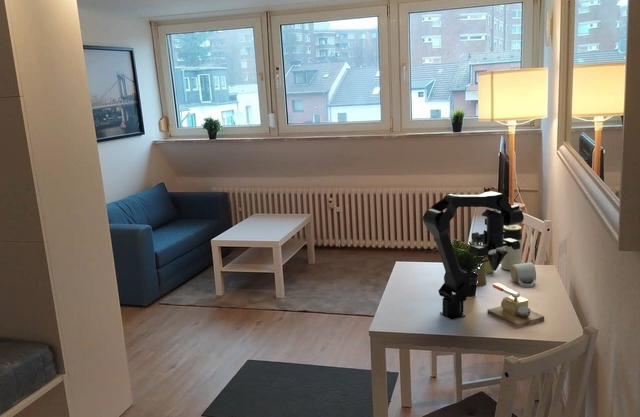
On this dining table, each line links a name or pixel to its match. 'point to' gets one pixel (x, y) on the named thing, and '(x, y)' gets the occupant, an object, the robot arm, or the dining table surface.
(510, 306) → the ball valve
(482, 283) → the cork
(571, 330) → the dining table surface
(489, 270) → the plant pot
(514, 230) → the travel mug
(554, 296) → the dining table surface
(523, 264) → the ceramic mug
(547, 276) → the dining table surface
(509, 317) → the valve board
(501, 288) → the valve lever
